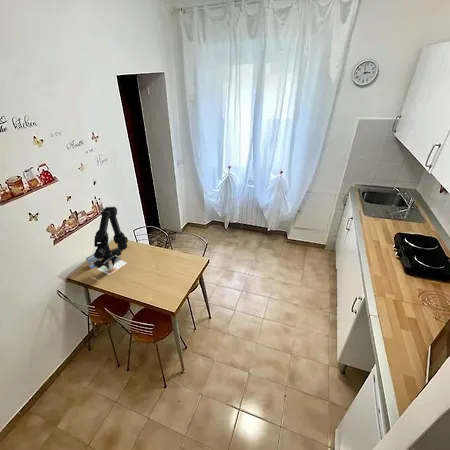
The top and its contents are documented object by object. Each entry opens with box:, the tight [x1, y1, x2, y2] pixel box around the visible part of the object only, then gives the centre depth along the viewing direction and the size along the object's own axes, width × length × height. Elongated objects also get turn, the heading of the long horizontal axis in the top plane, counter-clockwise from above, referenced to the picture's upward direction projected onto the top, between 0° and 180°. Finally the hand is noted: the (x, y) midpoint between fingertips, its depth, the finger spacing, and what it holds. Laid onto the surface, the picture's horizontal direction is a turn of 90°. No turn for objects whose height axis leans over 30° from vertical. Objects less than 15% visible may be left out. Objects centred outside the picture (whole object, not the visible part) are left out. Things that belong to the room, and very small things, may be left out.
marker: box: [106, 259, 114, 271], centre depth 180 cm, size 4×4×8 cm
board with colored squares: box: [97, 255, 127, 276], centre depth 186 cm, size 18×15×3 cm
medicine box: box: [85, 253, 102, 270], centre depth 186 cm, size 8×4×9 cm, turn 143°
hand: (110, 267), depth 181 cm, fingers closed on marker, 3 cm apart
